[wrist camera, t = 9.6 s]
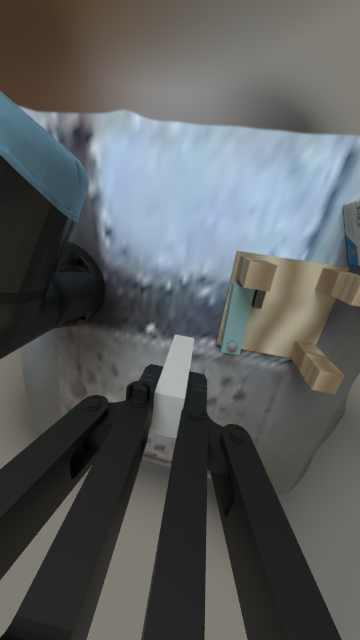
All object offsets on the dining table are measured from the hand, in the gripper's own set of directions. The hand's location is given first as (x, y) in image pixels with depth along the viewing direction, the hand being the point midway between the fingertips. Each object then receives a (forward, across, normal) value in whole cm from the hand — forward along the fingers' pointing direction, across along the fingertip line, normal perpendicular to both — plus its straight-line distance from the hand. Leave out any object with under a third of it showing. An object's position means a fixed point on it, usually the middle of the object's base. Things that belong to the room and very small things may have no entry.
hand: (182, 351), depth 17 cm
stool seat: (+21, +13, -1) cm, 25 cm away
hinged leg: (+19, +7, -3) cm, 21 cm away
